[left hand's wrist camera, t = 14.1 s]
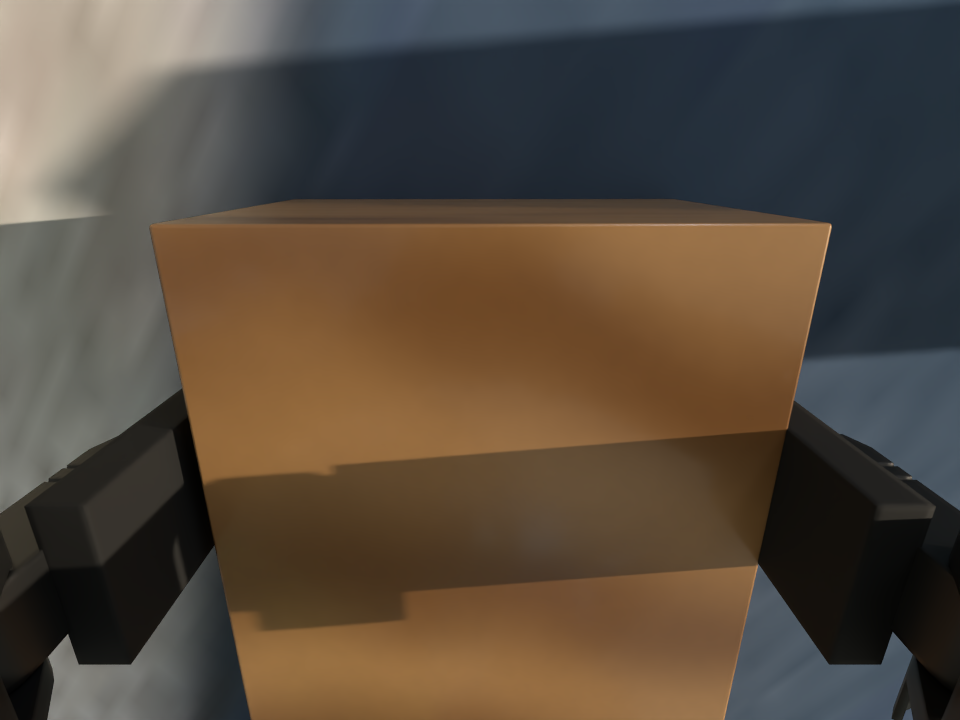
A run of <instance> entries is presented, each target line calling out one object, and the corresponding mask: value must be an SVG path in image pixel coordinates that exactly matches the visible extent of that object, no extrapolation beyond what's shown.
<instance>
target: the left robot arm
mask: <svg viewBox="0 0 960 720" xmlns="http://www.w3.org/2000/svg"><path fill="white" fill-rule="evenodd" d="M214 545H215V544H214V539H213V535H212V530H211V525H210V520H209V515H208V510H207V505H206V501H205V496H204V491H203V486H202V481H201V476H200V471H199V467H198V462H197V457H196V452H195V447H194V442H193V438H192V433H191V428H190V423H189V418H188V413H187V408H186V404H185V399H184V394H183V389H181V390H179V391H178V392H177V393H175V394H174V395H173V396H171V397H170V398H169V399H167V400H166V401H165V402H163V403H162V404H161V405H159V406H158V407H157V408H155V409H154V410H153V411H151V412H150V413H149V414H147V415H146V416H145V417H143V418H142V419H141V420H139V421H138V422H137V423H135V424H134V425H132V426H131V427H130V428H128V429H127V430H126V431H124V432H123V433H122V434H120V435H119V436H117V437H115V438H113V439H111V440H109V441H106V442H104V443H102V444H100V445H98V446H96V447H93V448H91V449H89V450H88V451H86V452H85V453H83V454H82V455H81V456H79V457H78V458H77V459H75V460H74V461H72V462H71V463H70V464H68V465H67V468H63V469H61V470H60V471H59V472H57V473H56V474H54V475H53V476H52V477H50V478H49V481H48V482H43V483H42V484H41V485H39V486H38V487H37V488H35V489H34V490H32V491H31V492H30V493H28V494H27V495H25V496H24V497H23V498H21V499H20V500H19V501H17V502H16V503H14V504H13V505H12V506H10V507H9V508H8V509H6V510H5V511H3V512H2V513H1V514H0V720H47V717H48V712H49V706H50V700H51V695H52V689H53V684H54V676H53V670H52V667H51V664H50V661H49V659H48V656H49V655H50V654H51V652H52V651H53V650H54V649H55V648H56V647H57V646H58V645H59V643H60V642H61V641H62V640H63V639H64V638H65V637H66V635H67V634H68V635H69V638H70V640H71V643H72V646H73V649H74V652H75V655H76V658H77V661H78V663H79V664H131V663H132V662H133V661H134V659H135V658H136V656H137V655H138V653H139V652H140V651H141V649H142V648H143V646H144V645H145V643H146V642H147V641H148V639H149V638H150V636H151V635H152V634H153V632H154V631H155V629H156V628H157V626H158V625H159V624H160V622H161V621H162V619H163V618H164V616H165V615H166V614H167V612H168V611H169V609H170V608H171V606H172V605H173V604H174V602H175V601H176V599H177V598H178V596H179V595H180V594H181V592H182V591H183V589H184V588H185V586H186V585H187V584H188V582H189V581H190V579H191V578H192V576H193V575H194V574H195V572H196V571H197V569H198V568H199V566H200V565H201V564H202V562H203V561H204V559H205V558H206V556H207V555H208V554H209V552H210V551H211V549H212V548H213V546H214ZM758 564H759V565H760V566H761V568H762V569H763V571H764V572H765V574H766V575H767V576H768V578H769V579H770V581H771V582H772V584H773V585H774V586H775V588H776V589H777V591H778V592H779V594H780V595H781V596H782V598H783V599H784V601H785V602H786V604H787V605H788V606H789V608H790V609H791V611H792V612H793V614H794V615H795V616H796V618H797V619H798V621H799V622H800V624H801V625H802V626H803V628H804V629H805V631H806V632H807V634H808V635H809V636H810V638H811V639H812V641H813V642H814V644H815V645H816V646H817V648H818V649H819V651H820V652H821V654H822V655H823V656H824V658H825V659H826V661H827V662H828V663H829V664H881V663H882V660H883V658H884V655H885V652H886V649H887V646H888V643H889V640H890V637H891V635H892V632H894V634H895V635H896V636H897V637H898V638H899V639H900V640H901V641H902V643H903V644H904V645H905V646H906V647H907V648H908V649H909V650H910V652H911V653H912V654H913V656H912V659H911V661H910V664H909V667H908V669H907V672H906V675H905V677H904V680H903V683H902V686H901V688H900V691H899V694H898V696H897V699H896V702H895V704H894V707H893V713H892V719H894V720H902V719H903V716H904V714H905V711H906V710H908V709H910V708H911V710H912V715H913V720H960V511H959V510H958V509H956V508H955V507H954V506H952V505H951V504H949V503H948V502H947V501H945V500H944V499H943V498H941V497H940V496H938V495H937V494H936V493H934V492H933V491H931V490H930V489H929V488H927V487H926V486H924V485H923V484H922V483H920V482H919V481H917V480H912V476H911V475H909V474H908V473H906V472H905V471H904V470H902V469H901V468H899V467H898V466H894V465H893V463H892V462H891V461H890V460H888V459H887V458H885V457H884V456H883V455H881V454H880V453H878V452H877V451H876V450H874V449H873V448H872V447H869V446H867V445H865V444H863V443H861V442H858V441H856V440H854V439H852V438H850V437H847V436H845V435H843V434H838V433H837V432H836V431H834V430H833V429H832V428H830V427H829V426H827V425H826V424H825V423H823V422H822V421H821V420H819V419H818V418H817V417H815V416H814V415H813V414H811V413H810V412H809V411H807V410H806V409H805V408H803V407H802V406H801V405H799V404H798V403H797V402H795V401H794V402H793V406H792V411H791V415H790V420H789V425H788V429H787V430H786V435H785V440H784V444H783V449H782V453H781V458H780V463H779V467H778V472H777V476H776V481H775V486H774V490H773V495H772V499H771V504H770V508H769V513H768V518H767V522H766V527H765V531H764V536H763V541H762V545H761V550H760V554H759V559H758Z"/></svg>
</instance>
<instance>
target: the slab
mask: <svg viewBox="0 0 960 720" xmlns="http://www.w3.org/2000/svg"><path fill="white" fill-rule="evenodd" d="M831 228H832V226H831V224H829V223H826V222H820V221H813V220H807V219H800V218H794V217H787V216H781V215H774V214H767V213H761V212H754V211H748V210H741V209H735V208H728V207H722V206H715V205H709V204H702V203H696V202H689V201H683V200H676V199H293V200H287V201H282V202H276V203H270V204H264V205H259V206H253V207H247V208H241V209H236V210H230V211H224V212H218V213H212V214H207V215H201V216H195V217H189V218H184V219H178V220H172V221H166V222H160V223H155V224H152V225H150V228H149V229H150V234H151V239H152V243H153V248H154V253H155V258H156V263H157V268H158V273H159V277H160V282H161V287H162V292H163V297H164V302H165V306H166V311H167V316H168V321H169V326H170V331H171V336H172V340H173V345H174V350H175V355H176V360H177V365H178V370H179V374H180V379H181V384H182V389H183V394H184V399H185V404H186V408H187V413H188V418H189V423H190V428H191V433H192V438H193V442H194V447H195V452H196V457H197V462H198V467H199V471H200V476H201V481H202V486H203V491H204V496H205V501H206V505H207V510H208V515H209V520H210V525H211V530H212V535H213V539H214V544H215V549H216V554H217V559H218V564H219V569H220V573H221V578H222V583H223V588H224V593H225V598H226V602H227V607H228V612H229V617H230V622H231V627H232V632H233V636H234V641H235V646H236V651H237V656H238V661H239V666H240V670H241V675H242V680H243V685H244V690H245V695H246V700H247V704H248V709H249V714H250V719H251V720H724V718H725V713H726V708H727V704H728V699H729V695H730V690H731V686H732V681H733V676H734V672H735V667H736V663H737V658H738V654H739V649H740V644H741V640H742V635H743V631H744V626H745V621H746V617H747V612H748V608H749V603H750V599H751V594H752V589H753V585H754V580H755V576H756V571H757V567H758V559H759V554H760V550H761V545H762V541H763V536H764V531H765V527H766V522H767V518H768V513H769V508H770V504H771V499H772V495H773V490H774V486H775V481H776V476H777V472H778V467H779V463H780V458H781V453H782V449H783V444H784V440H785V435H786V430H787V429H788V425H789V420H790V415H791V411H792V406H793V402H794V397H795V393H796V388H797V383H798V379H799V374H800V370H801V365H802V360H803V356H804V351H805V347H806V342H807V338H808V333H809V328H810V324H811V319H812V315H813V310H814V306H815V301H816V296H817V292H818V287H819V283H820V278H821V273H822V269H823V264H824V260H825V255H826V251H827V246H828V241H829V237H830V232H831Z"/></svg>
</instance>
